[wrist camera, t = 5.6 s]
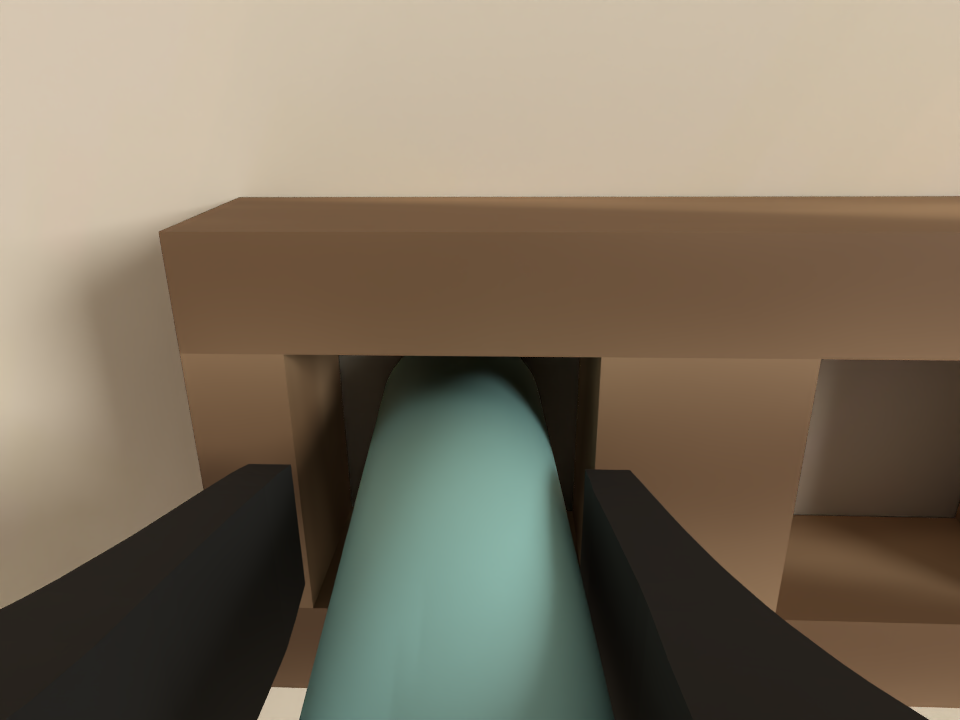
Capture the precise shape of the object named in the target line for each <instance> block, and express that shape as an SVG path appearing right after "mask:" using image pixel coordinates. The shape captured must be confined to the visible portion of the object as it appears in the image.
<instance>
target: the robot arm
mask: <svg viewBox="0 0 960 720" xmlns="http://www.w3.org/2000/svg"><path fill="white" fill-rule="evenodd" d="M580 573H581V577H582V581H583V586H584V590H585V594H586V599H587V603H588V607H589V611H590V616H591V620H592V624H593V629H594V633H595V637H596V642H597V646H598V650H599V655H600V659H601V663H602V667H603V672H604V676H605V680H606V685H607V689H608V693H609V698H610V702H611V706H612V711H613V715H614V719H615V720H928V719H927V718H925V717H924V716H922V715H920V714H919V713H917V712H916V711H914V710H913V709H911V708H909V707H908V706H906V705H905V704H903V703H902V702H900V701H899V700H897V699H895V698H894V697H892V696H891V695H889V694H888V693H886V692H884V691H883V690H881V689H880V688H878V687H877V686H875V685H873V684H872V683H870V682H869V681H867V680H866V679H864V678H863V677H862V676H860V675H859V674H857V673H856V672H854V671H853V670H851V669H850V668H848V667H847V666H845V665H844V664H843V663H841V662H840V661H838V660H837V659H836V658H834V657H833V656H832V655H830V654H829V653H828V652H826V651H825V650H824V649H822V648H821V647H819V646H818V645H817V644H815V643H814V642H813V641H811V640H810V639H809V638H807V637H806V636H805V635H803V634H802V633H801V632H799V631H798V630H797V629H795V628H794V627H793V626H791V625H790V624H789V623H787V622H786V621H785V620H784V619H782V618H781V617H780V616H779V615H777V614H776V613H775V612H774V611H773V610H771V609H770V608H769V607H768V606H766V605H765V604H764V603H763V602H762V601H761V600H759V599H758V598H757V597H756V596H755V595H754V594H753V593H751V592H750V591H749V590H748V589H747V588H746V587H745V586H743V585H742V584H741V583H740V582H739V581H738V580H737V579H735V578H734V577H733V576H732V575H731V574H730V573H729V572H728V571H726V570H725V569H724V568H723V567H722V566H721V565H720V564H719V563H718V562H717V561H716V560H715V559H714V558H713V557H712V556H711V555H710V554H709V553H708V552H707V551H706V550H705V549H704V548H703V547H702V546H701V545H700V544H699V543H698V542H697V541H696V540H695V539H694V538H693V537H692V536H691V535H690V534H689V533H688V532H687V531H686V530H685V529H684V528H683V527H682V526H681V525H680V524H679V523H678V522H677V521H676V520H675V519H674V517H673V516H672V515H671V514H670V513H669V512H668V511H667V510H666V509H665V508H664V507H663V505H662V504H661V503H660V502H659V501H658V500H657V499H656V498H655V497H654V496H653V494H652V493H651V492H650V491H649V490H648V489H647V488H646V487H645V486H644V484H643V483H642V482H641V481H640V480H639V479H638V478H637V477H636V476H635V475H634V474H633V473H632V472H631V470H601V469H585V484H584V502H583V521H582V540H581V559H580ZM304 587H305V577H304V569H303V560H302V552H301V544H300V536H299V527H298V519H297V511H296V503H295V494H294V486H293V478H292V470H291V465H290V464H247V465H245V466H243V467H241V468H239V469H237V470H236V471H234V472H232V473H230V474H229V475H227V476H225V477H224V478H222V479H221V480H219V481H217V482H216V483H214V484H213V485H211V486H209V487H208V488H206V489H205V490H203V491H202V492H200V493H198V494H197V495H195V496H194V497H192V498H191V499H189V500H188V501H186V502H184V503H183V504H181V505H180V506H178V507H177V508H175V509H173V510H172V511H170V512H169V513H167V514H166V515H164V516H162V517H161V518H159V519H158V520H156V521H155V522H153V523H151V524H150V525H148V526H147V527H145V528H144V529H142V530H140V531H139V532H137V533H136V534H134V535H132V536H131V537H129V538H128V539H126V540H124V541H122V542H121V543H119V544H117V545H116V546H114V547H112V548H110V549H109V550H107V551H105V552H104V553H102V554H100V555H98V556H97V557H95V558H93V559H92V560H90V561H88V562H86V563H85V564H83V565H81V566H80V567H78V568H76V569H75V570H73V571H71V572H69V573H68V574H66V575H64V576H63V577H61V578H59V579H57V580H56V581H54V582H52V583H50V584H48V585H46V586H45V587H43V588H41V589H39V590H37V591H35V592H33V593H31V594H29V595H28V596H26V597H24V598H22V599H20V600H18V601H16V602H14V603H12V604H10V605H8V606H6V607H4V608H2V609H0V720H257V719H258V717H259V714H260V712H261V710H262V707H263V705H264V703H265V700H266V698H267V696H268V693H269V691H270V689H271V686H272V684H273V681H274V679H275V677H276V674H277V672H278V670H279V667H280V665H281V662H282V660H283V658H284V655H285V653H286V650H287V647H288V644H289V641H290V637H291V634H292V631H293V627H294V624H295V620H296V617H297V613H298V609H299V606H300V602H301V598H302V594H303V591H304Z"/></svg>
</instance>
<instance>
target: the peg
mask: <svg viewBox="0 0 960 720" xmlns="http://www.w3.org/2000/svg"><path fill="white" fill-rule="evenodd" d="M299 720H615V719H614V715H613V711H612V706H611V702H610V698H609V693H608V689H607V685H606V680H605V676H604V672H603V667H602V663H601V659H600V655H599V650H598V646H597V642H596V637H595V633H594V629H593V624H592V620H591V616H590V611H589V607H588V603H587V599H586V594H585V590H584V586H583V581H582V577H581V573H580V568H579V564H578V560H577V555H576V551H575V547H574V542H573V538H572V534H571V530H570V525H569V521H568V517H567V512H566V508H565V504H564V499H563V495H562V491H561V486H560V482H559V478H558V474H557V469H556V465H555V461H554V456H553V452H552V448H551V443H550V439H549V435H548V430H547V426H546V422H545V417H544V413H543V409H542V405H541V400H540V396H539V392H538V388H537V384H536V382H535V380H534V377H533V375H532V373H531V372H530V370H529V368H528V367H527V366H526V364H525V363H524V362H523V361H522V359H520V358H519V357H508V356H404V357H403V358H402V359H401V360H400V361H399V362H398V363H397V365H396V366H395V367H394V369H393V370H392V372H391V374H390V376H389V378H388V380H387V383H386V385H385V389H384V393H383V397H382V401H381V404H380V408H379V412H378V416H377V420H376V424H375V428H374V432H373V436H372V439H371V443H370V447H369V451H368V455H367V459H366V463H365V467H364V470H363V474H362V478H361V482H360V486H359V490H358V494H357V498H356V502H355V505H354V509H353V513H352V517H351V521H350V525H349V529H348V533H347V536H346V540H345V544H344V548H343V552H342V556H341V560H340V564H339V568H338V571H337V575H336V579H335V583H334V587H333V591H332V595H331V599H330V602H329V606H328V610H327V614H326V618H325V622H324V626H323V630H322V634H321V637H320V641H319V645H318V649H317V653H316V657H315V661H314V665H313V668H312V672H311V676H310V680H309V684H308V688H307V692H306V696H305V700H304V703H303V707H302V711H301V715H300V719H299Z"/></svg>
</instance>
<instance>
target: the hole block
mask: <svg viewBox="0 0 960 720" xmlns="http://www.w3.org/2000/svg"><path fill="white" fill-rule="evenodd" d="M159 237H160V243H161V248H162V254H163V260H164V265H165V271H166V277H167V283H168V288H169V294H170V300H171V305H172V311H173V317H174V323H175V328H176V334H177V340H178V345H179V351H180V357H181V363H182V368H183V374H184V380H185V385H186V391H187V397H188V403H189V408H190V414H191V420H192V425H193V431H194V437H195V443H196V448H197V454H198V460H199V465H200V471H201V477H202V483H203V488H204V490H205V489H206V488H208V487H209V486H211V485H213V484H214V483H216V482H217V481H219V480H221V479H222V478H224V477H225V476H227V475H229V474H230V473H232V472H234V471H236V470H237V469H239V468H241V467H243V466H245V465H247V464H290V465H291V470H292V478H293V486H294V494H295V503H296V511H297V519H298V527H299V536H300V544H301V552H302V560H303V569H304V577H305V587H304V591H303V594H302V598H301V602H300V606H299V609H298V613H297V617H296V620H295V624H294V627H293V631H292V634H291V637H290V641H289V644H288V647H287V650H286V653H285V655H284V658H283V660H282V662H281V665H280V667H279V670H278V672H277V674H276V677H275V679H274V681H273V684H272V686H271V687H290V688H308V684H309V680H310V676H311V672H312V668H313V665H314V661H315V657H316V653H317V649H318V645H319V641H320V637H321V634H322V630H323V626H324V622H325V618H326V614H327V610H328V606H329V602H330V599H331V595H332V591H333V587H334V583H335V579H336V575H337V571H338V568H339V564H340V560H341V556H342V552H343V548H344V544H345V540H346V536H347V533H348V529H349V525H350V521H351V517H352V513H353V509H354V507H352V503H351V492H350V480H349V469H348V458H347V446H346V435H345V423H344V412H343V400H342V389H341V377H340V366H339V355H396V356H508V357H580V362H579V383H578V405H577V426H576V448H575V469H574V491H573V511H566V512H567V517H568V521H569V525H570V530H571V534H572V538H573V542H574V547H575V551H576V555H577V560H578V564H579V568H580V559H581V540H582V521H583V502H584V484H585V469H601V470H631V472H632V473H633V474H634V475H635V476H636V477H637V478H638V479H639V480H640V481H641V482H642V483H643V484H644V486H645V487H646V488H647V489H648V490H649V491H650V492H651V493H652V494H653V496H654V497H655V498H656V499H657V500H658V501H659V502H660V503H661V504H662V505H663V507H664V508H665V509H666V510H667V511H668V512H669V513H670V514H671V515H672V516H673V517H674V519H675V520H676V521H677V522H678V523H679V524H680V525H681V526H682V527H683V528H684V529H685V530H686V531H687V532H688V533H689V534H690V535H691V536H692V537H693V538H694V539H695V540H696V541H697V542H698V543H699V544H700V545H701V546H702V547H703V548H704V549H705V550H706V551H707V552H708V553H709V554H710V555H711V556H712V557H713V558H714V559H715V560H716V561H717V562H718V563H719V564H720V565H721V566H722V567H723V568H724V569H725V570H726V571H728V572H729V573H730V574H731V575H732V576H733V577H734V578H735V579H737V580H738V581H739V582H740V583H741V584H742V585H743V586H745V587H746V588H747V589H748V590H749V591H750V592H751V593H753V594H754V595H755V596H756V597H757V598H758V599H759V600H761V601H762V602H763V603H764V604H765V605H766V606H768V607H769V608H770V609H771V610H773V611H774V612H775V613H776V614H777V615H779V616H780V617H781V618H782V619H784V620H785V621H786V622H787V623H789V624H790V625H791V626H793V627H794V628H795V629H797V630H798V631H799V632H801V633H802V634H803V635H805V636H806V637H807V638H809V639H810V640H811V641H813V642H814V643H815V644H817V645H818V646H819V647H821V648H822V649H824V650H825V651H826V652H828V653H829V654H830V655H832V656H833V657H834V658H836V659H837V660H838V661H840V662H841V663H843V664H844V665H845V666H847V667H848V668H850V669H851V670H853V671H854V672H856V673H857V674H859V675H860V676H862V677H863V678H864V679H866V680H867V681H869V682H870V683H872V684H873V685H875V686H877V687H878V688H880V689H881V690H883V691H884V692H886V693H888V694H889V695H891V696H892V697H894V698H895V699H897V700H899V701H900V702H902V703H903V704H905V705H906V706H910V707H943V708H960V502H959V505H958V509H957V513H956V516H955V518H921V517H868V516H815V515H793V513H794V507H795V502H796V496H797V491H798V485H799V480H800V474H801V469H802V463H803V458H804V452H805V447H806V441H807V435H808V430H809V424H810V419H811V413H812V408H813V402H814V397H815V391H816V386H817V380H818V375H819V369H820V363H821V359H845V360H957V361H960V196H916V197H239V198H237V199H234V200H232V201H230V202H227V203H225V204H223V205H220V206H218V207H216V208H213V209H211V210H209V211H206V212H204V213H202V214H199V215H197V216H195V217H192V218H190V219H188V220H185V221H183V222H181V223H178V224H176V225H174V226H171V227H169V228H166V229H164V230H162V231H159Z"/></svg>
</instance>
